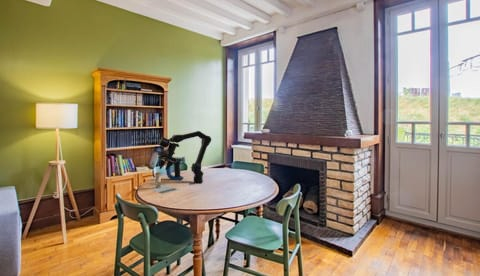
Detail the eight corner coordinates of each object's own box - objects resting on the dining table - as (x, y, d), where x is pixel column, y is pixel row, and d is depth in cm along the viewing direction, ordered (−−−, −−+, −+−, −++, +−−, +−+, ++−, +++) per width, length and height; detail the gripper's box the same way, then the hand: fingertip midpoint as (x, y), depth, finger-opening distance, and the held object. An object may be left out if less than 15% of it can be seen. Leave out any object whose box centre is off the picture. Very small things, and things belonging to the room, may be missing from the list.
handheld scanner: (183, 180, 219) (183, 157, 218) (166, 179, 223) (165, 156, 221) (186, 179, 224) (185, 156, 222) (168, 178, 227) (168, 156, 226)
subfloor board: (147, 190, 191) (147, 188, 191) (164, 186, 202) (164, 184, 202) (163, 196, 178) (163, 193, 178) (180, 191, 189) (180, 189, 189)
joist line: (173, 188, 191) (173, 188, 191) (177, 189, 189) (177, 189, 189) (158, 192, 182) (158, 192, 182) (162, 193, 179) (162, 193, 179)
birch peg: (161, 187, 195) (161, 172, 194) (159, 188, 191) (159, 173, 190) (156, 186, 195) (156, 172, 194) (154, 188, 192) (154, 173, 191)
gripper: (156, 145, 202) (148, 164, 198) (168, 146, 189) (159, 166, 184) (168, 151, 209) (160, 169, 205) (180, 152, 196) (172, 172, 191)
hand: (162, 169), depth 196 cm, fingers open, 9 cm apart
